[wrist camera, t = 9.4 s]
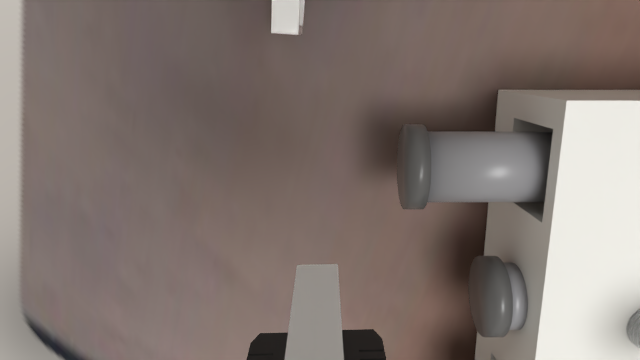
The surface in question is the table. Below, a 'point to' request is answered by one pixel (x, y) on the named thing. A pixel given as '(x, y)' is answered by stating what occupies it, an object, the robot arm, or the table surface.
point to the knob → (471, 166)
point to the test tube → (634, 329)
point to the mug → (287, 16)
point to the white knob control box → (565, 235)
